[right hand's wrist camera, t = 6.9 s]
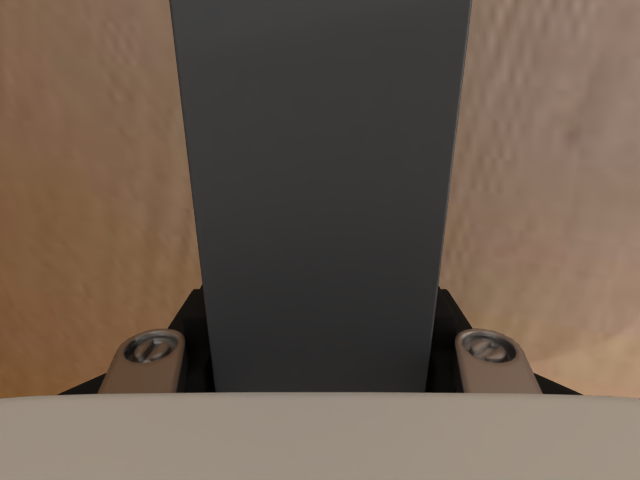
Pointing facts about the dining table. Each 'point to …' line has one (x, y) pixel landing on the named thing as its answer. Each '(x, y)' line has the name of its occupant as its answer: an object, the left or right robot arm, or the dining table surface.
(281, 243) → the post
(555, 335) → the dining table surface
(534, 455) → the right robot arm
